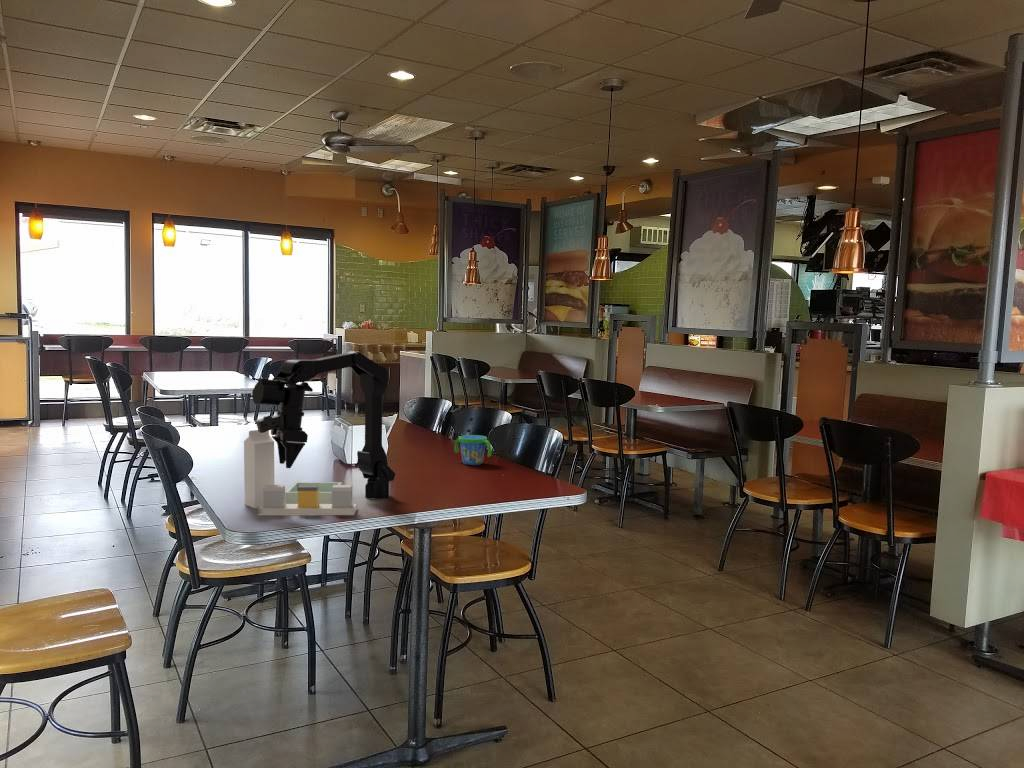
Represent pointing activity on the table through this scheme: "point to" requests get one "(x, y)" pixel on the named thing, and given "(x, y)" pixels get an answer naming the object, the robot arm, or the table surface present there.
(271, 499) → the block
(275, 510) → the fuse holder
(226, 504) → the table surface
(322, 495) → the green tray
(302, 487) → the block
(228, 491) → the table surface
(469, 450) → the snack cup
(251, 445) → the milk
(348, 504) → the block
